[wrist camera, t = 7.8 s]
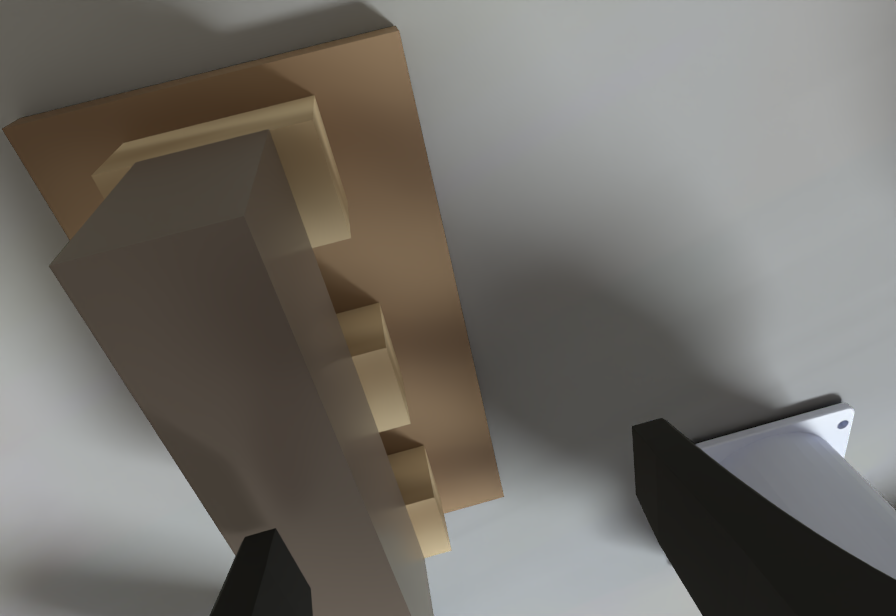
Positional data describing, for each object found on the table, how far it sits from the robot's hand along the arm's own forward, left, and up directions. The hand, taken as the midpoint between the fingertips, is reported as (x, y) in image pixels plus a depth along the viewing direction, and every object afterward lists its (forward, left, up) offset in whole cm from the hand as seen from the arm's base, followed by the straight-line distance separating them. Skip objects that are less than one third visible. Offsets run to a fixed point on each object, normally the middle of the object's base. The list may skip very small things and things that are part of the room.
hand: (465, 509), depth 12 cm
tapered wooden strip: (-1, +4, -6) cm, 7 cm away
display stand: (-1, +4, -10) cm, 10 cm away
